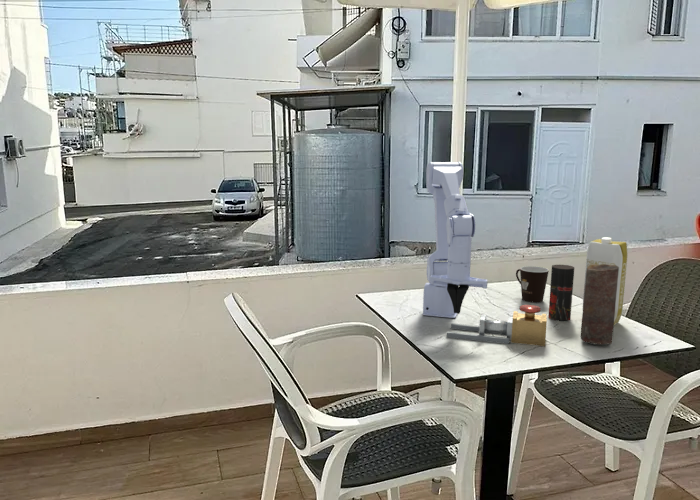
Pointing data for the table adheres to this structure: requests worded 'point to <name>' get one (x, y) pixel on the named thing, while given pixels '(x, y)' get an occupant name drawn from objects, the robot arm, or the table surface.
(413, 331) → the table surface
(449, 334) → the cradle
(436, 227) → the robot arm
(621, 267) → the juice carton
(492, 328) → the spool
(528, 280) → the coffee mug
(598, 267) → the rock core sample
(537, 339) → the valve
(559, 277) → the deodorant
